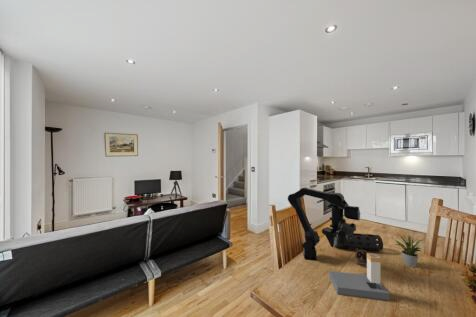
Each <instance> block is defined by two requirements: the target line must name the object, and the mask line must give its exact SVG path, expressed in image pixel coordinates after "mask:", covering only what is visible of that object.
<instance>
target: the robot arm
mask: <svg viewBox="0 0 476 317" xmlns="http://www.w3.org/2000/svg"><path fill="white" fill-rule="evenodd" d="M304 196H309V197H313V198H317V199H321V200H324V201H326V202H328V203H329V204H328V205H327V206H326V207H327V208H331V217H329V221H330V220H331V224H329V227H328V226H326V227H323V228H322V229H321V233H322V234H323V235H324V236H325V237H326V239H327V241H328V243H329V246H330V247H331V248H334V246H335V245H334V238H336V237H337V236H336V235H337V232H339V236H340V240H341V243H344V241H345V238H346V235H351V234H353V233H355V232H356V231H357V226H356V224H355V223H353V222H352V223H351V222H350V223H347V222H346V221H347V220H353V221H358V222H359V221H360V220H361V212H360V207H359V206H352V205H349V204H348V202H347V201H346V199H345V197H344V195H343V193H341V192H325V191H322V190H321V191H320V190H316V189H313V188H307V187H301V188H300V189H299V190H298V191H295V192H294V193H291V194H289V195H288V196H287V201H288V203H289V205H290V206H291V207H292V208H293V209H294V211H295V213H296V215H297V217H298V220H299V222H300V224H301V226H302V228H303V231H304V238H305V241H304V242H302V244H301V246H302V249H303V253H302V256H303V258H304V260H308V261H309V260H311V261H317V249H316V246H317V245H318V244H319V243H320V240H321V239H320V236H319V233H318V231H317V230H314V229H313V227H312V225H311V224H310V221H309V219H308V216H307V214H306V212H305V210H304V208H303V206H302V205H303V201H302V198H303V197H304ZM345 218H346V219H347V220H346V219H345Z"/></svg>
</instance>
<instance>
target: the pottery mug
mask: <svg viewBox="0 0 476 317" xmlns="http://www.w3.org/2000/svg"><path fill="white" fill-rule="evenodd" d="M367 253H369V252H368V250H363V249H358V248H354V255H355V256H354V258H355V260H354V261H355V263H356V265H362V266H367ZM361 258H362V259H361Z"/></svg>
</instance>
